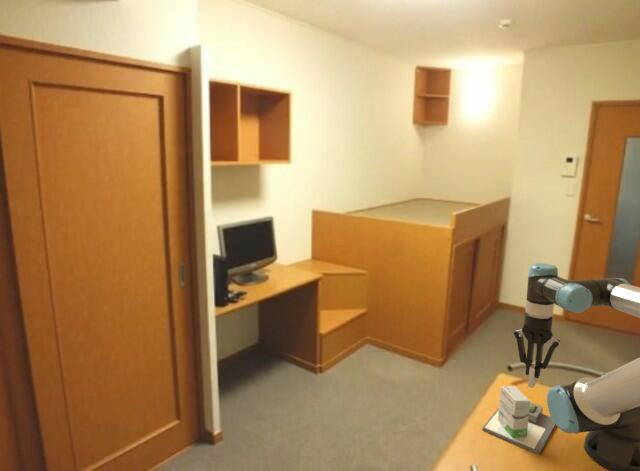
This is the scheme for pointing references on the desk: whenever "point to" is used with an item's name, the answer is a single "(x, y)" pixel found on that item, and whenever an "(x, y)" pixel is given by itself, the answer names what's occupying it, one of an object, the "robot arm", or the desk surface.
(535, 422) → the colouring board
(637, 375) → the robot arm
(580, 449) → the desk surface
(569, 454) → the desk surface
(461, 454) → the desk surface
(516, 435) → the ink box
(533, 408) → the button
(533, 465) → the desk surface
